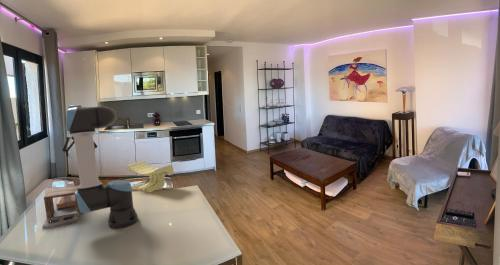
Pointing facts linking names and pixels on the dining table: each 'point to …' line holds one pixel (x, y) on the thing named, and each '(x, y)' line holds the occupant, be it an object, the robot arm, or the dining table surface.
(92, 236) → the dining table surface
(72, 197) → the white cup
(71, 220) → the tunnel
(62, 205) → the sled
